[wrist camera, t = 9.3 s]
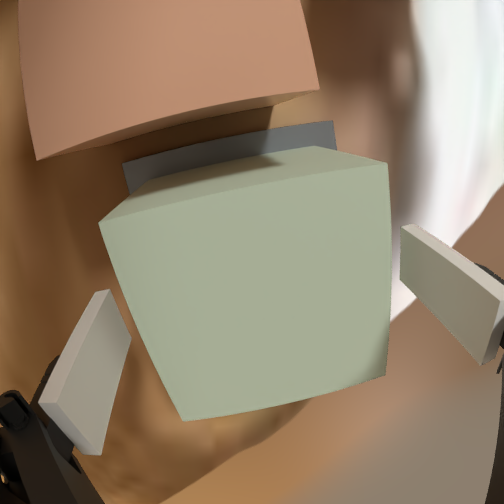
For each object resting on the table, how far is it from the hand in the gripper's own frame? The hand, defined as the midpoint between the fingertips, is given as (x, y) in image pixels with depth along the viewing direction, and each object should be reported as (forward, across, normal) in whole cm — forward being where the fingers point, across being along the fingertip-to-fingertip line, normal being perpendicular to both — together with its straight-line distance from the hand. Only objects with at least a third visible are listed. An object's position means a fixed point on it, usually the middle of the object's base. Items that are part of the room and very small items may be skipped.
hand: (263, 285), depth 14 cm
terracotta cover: (+8, -2, +12) cm, 15 cm away
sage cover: (+7, 0, -1) cm, 7 cm away
